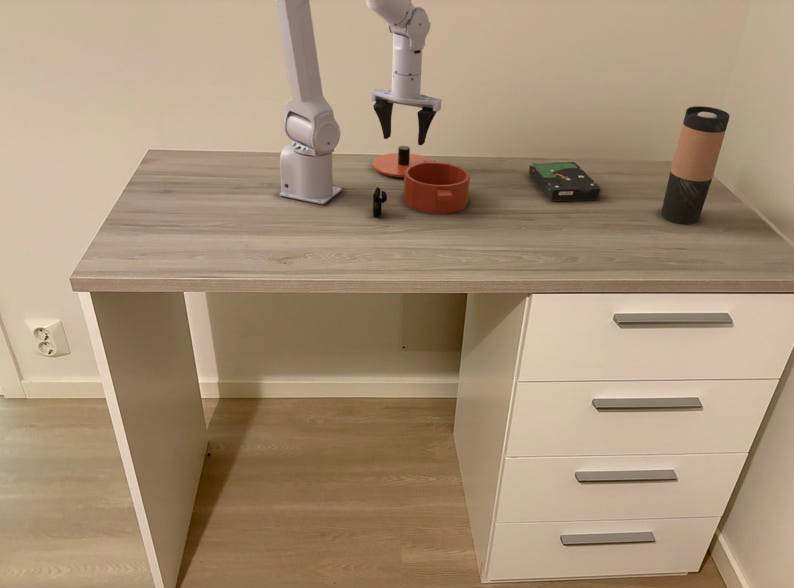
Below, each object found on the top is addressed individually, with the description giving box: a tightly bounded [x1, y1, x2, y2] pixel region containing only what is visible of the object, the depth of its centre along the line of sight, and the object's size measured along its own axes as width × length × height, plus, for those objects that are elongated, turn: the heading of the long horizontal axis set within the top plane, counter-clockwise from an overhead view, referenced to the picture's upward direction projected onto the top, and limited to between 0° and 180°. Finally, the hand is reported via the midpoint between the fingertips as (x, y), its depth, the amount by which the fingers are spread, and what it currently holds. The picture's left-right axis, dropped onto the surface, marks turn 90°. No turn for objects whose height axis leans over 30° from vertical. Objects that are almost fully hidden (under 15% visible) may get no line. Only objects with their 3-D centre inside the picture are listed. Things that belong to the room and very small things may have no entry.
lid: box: [371, 145, 433, 178], centre depth 152 cm, size 13×13×4 cm
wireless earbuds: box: [372, 186, 388, 218], centre depth 132 cm, size 7×2×5 cm, turn 4°
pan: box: [403, 160, 471, 215], centre depth 138 cm, size 12×18×6 cm
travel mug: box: [660, 105, 730, 225], centre depth 134 cm, size 8×8×20 cm
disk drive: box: [528, 161, 602, 202], centre depth 148 cm, size 10×3×15 cm
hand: (404, 140), depth 149 cm, fingers open, 7 cm apart
